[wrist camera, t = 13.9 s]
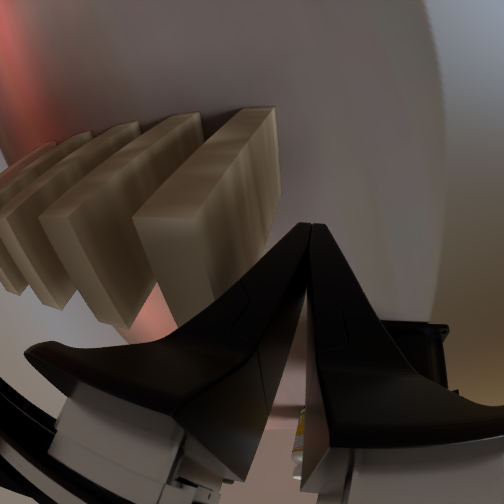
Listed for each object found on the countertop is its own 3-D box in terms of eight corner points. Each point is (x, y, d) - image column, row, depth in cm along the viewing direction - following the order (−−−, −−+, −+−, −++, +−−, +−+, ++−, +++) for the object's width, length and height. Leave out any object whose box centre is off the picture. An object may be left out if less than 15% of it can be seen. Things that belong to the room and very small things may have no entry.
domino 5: (275, 106, 14) (192, 218, 6) (281, 193, 17) (230, 350, 9) (243, 107, 14) (131, 217, 7) (253, 192, 17) (185, 342, 10)
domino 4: (199, 111, 15) (67, 217, 7) (214, 192, 18) (129, 329, 10) (173, 114, 15) (37, 217, 8) (190, 192, 18) (98, 321, 11)
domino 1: (55, 139, 18) (-48, 219, 10) (75, 196, 21) (-9, 284, 13) (43, 143, 18) (-54, 219, 11) (63, 197, 21) (-18, 280, 14)
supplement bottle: (347, 415, 35) (338, 481, 28) (315, 420, 38) (303, 481, 31) (326, 402, 33) (314, 475, 26) (292, 408, 36) (277, 474, 29)
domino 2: (90, 130, 17) (-28, 218, 9) (111, 194, 20) (19, 295, 12) (75, 134, 17) (-37, 219, 10) (96, 195, 20) (7, 291, 13)
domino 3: (137, 120, 16) (5, 217, 8) (157, 193, 19) (61, 310, 11) (117, 124, 16) (-10, 218, 9) (137, 193, 19) (42, 304, 12)
